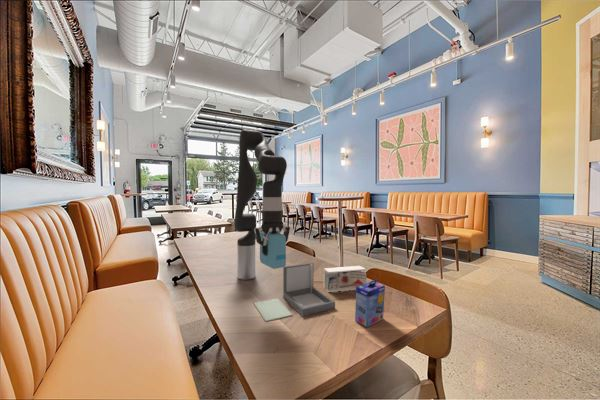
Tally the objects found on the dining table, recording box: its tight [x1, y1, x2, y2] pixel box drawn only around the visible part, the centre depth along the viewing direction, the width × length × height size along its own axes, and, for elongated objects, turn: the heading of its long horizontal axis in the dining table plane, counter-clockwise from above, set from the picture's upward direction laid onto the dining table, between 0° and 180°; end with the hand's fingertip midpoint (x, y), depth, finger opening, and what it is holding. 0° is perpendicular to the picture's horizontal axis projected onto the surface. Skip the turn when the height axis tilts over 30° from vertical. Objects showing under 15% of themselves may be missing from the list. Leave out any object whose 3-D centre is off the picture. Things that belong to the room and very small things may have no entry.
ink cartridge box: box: [354, 278, 386, 328], centre depth 85 cm, size 10×6×14 cm, turn 128°
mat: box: [253, 298, 293, 323], centre depth 92 cm, size 15×10×1 cm, turn 26°
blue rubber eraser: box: [259, 231, 287, 270], centre depth 92 cm, size 12×4×12 cm, turn 36°
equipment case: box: [282, 262, 336, 317], centre depth 98 cm, size 18×14×13 cm
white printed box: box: [322, 265, 367, 293], centre depth 113 cm, size 20×6×9 cm, turn 105°
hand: (272, 254), depth 92 cm, fingers closed on blue rubber eraser, 5 cm apart
